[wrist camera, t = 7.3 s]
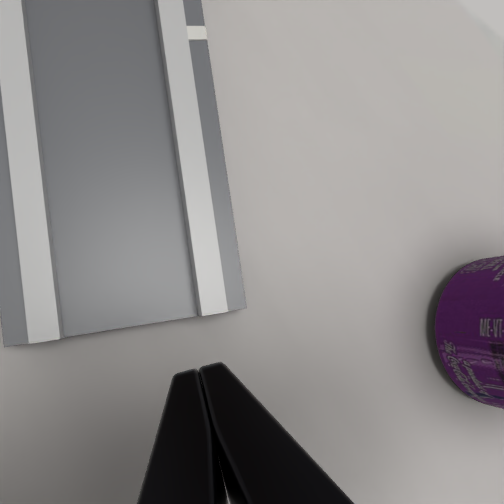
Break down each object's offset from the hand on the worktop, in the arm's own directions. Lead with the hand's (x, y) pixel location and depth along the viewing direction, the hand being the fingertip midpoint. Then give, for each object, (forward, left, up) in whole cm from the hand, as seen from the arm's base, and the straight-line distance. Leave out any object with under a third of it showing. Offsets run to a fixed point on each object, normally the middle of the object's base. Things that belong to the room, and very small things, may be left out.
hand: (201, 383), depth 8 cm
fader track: (+7, +8, -12) cm, 16 cm away
